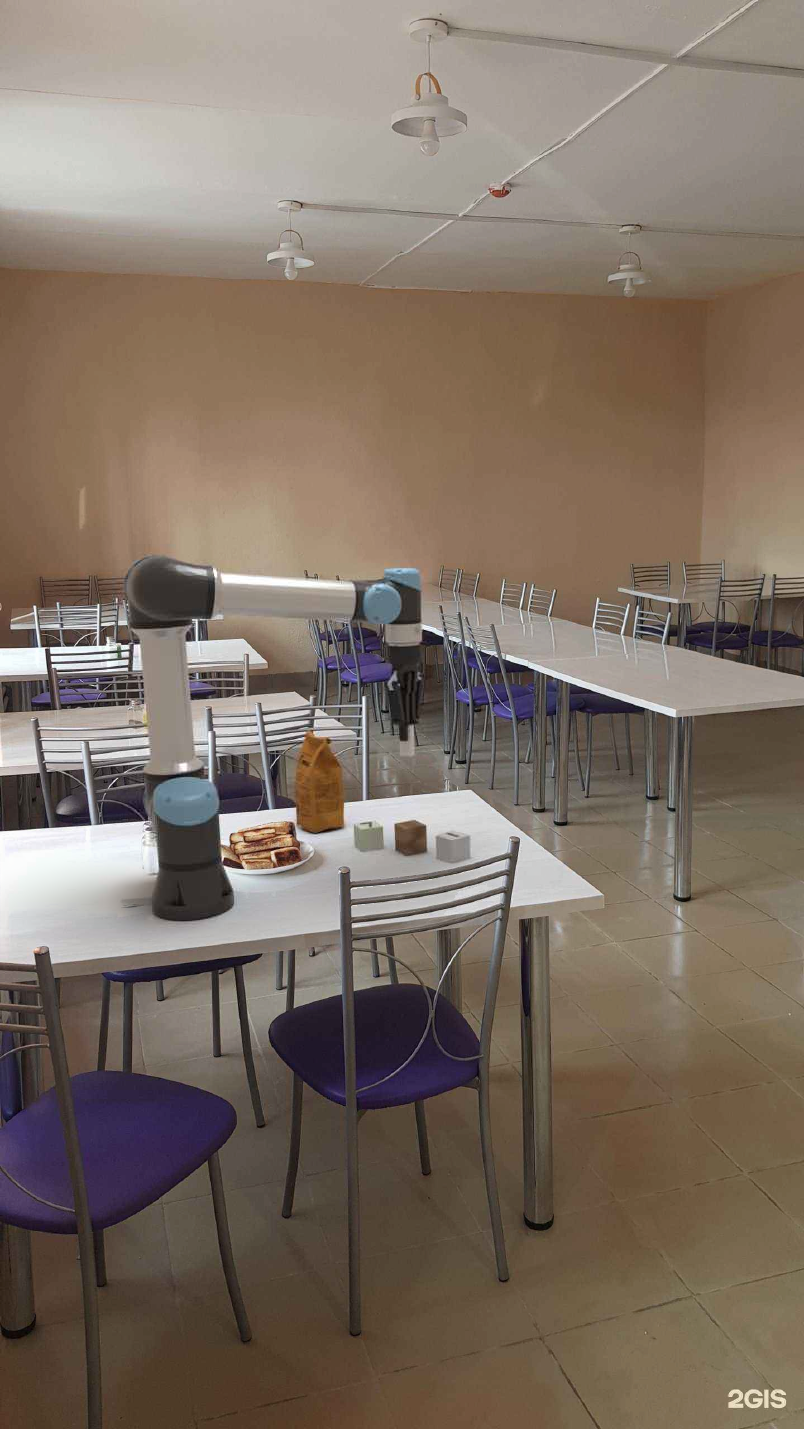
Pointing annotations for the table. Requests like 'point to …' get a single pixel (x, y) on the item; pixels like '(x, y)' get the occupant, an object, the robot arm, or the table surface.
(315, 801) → the coffee package
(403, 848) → the plain walnut block
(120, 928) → the table surface
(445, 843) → the grey numbered block
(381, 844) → the sage numbered block
